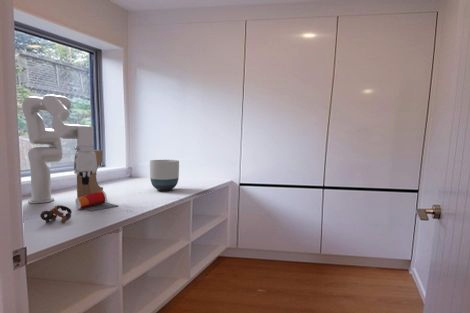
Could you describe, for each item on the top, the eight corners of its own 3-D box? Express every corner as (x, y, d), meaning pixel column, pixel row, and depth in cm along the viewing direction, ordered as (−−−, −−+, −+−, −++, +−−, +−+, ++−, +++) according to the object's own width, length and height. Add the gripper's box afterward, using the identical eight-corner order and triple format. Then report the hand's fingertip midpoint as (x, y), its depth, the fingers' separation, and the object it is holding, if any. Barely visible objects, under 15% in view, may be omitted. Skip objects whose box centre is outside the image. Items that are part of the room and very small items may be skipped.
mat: (78, 207, 160) (78, 206, 160) (105, 202, 172) (105, 201, 172) (91, 211, 152) (91, 210, 152) (118, 206, 163) (118, 205, 163)
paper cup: (74, 206, 158) (99, 198, 169) (81, 213, 155) (106, 205, 166) (74, 193, 155) (100, 187, 166) (82, 200, 152) (108, 193, 163)
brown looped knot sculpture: (60, 219, 139) (68, 204, 139) (68, 231, 134) (77, 216, 134) (33, 218, 129) (41, 202, 128) (41, 231, 124) (50, 214, 123)
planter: (151, 188, 224) (151, 159, 222) (179, 187, 227) (179, 159, 226) (148, 193, 204) (148, 161, 202) (179, 192, 207) (179, 161, 206)
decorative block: (89, 204, 167) (88, 151, 165) (76, 204, 167) (75, 150, 165) (103, 199, 182) (102, 150, 180) (91, 199, 182) (90, 149, 180)
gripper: (73, 150, 147) (73, 187, 148) (102, 149, 158) (102, 183, 160) (66, 149, 151) (67, 185, 153) (95, 148, 163) (95, 182, 164)
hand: (85, 184), depth 156 cm, fingers closed
